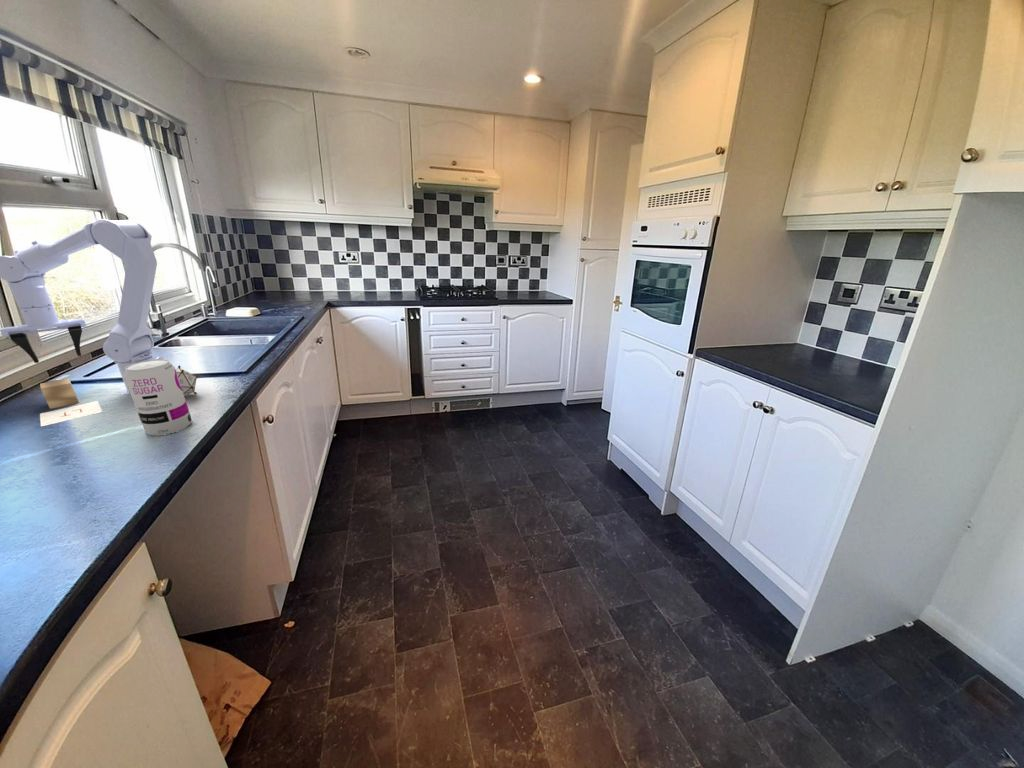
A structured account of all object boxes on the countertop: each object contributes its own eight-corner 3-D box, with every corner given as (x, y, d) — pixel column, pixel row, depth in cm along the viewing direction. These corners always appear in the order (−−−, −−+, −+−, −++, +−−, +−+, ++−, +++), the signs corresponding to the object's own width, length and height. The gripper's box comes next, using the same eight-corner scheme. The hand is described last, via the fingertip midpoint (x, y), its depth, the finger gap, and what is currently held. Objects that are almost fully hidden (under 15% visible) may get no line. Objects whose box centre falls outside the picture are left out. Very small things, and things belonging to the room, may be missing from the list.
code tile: (98, 403, 104) (97, 400, 104) (103, 414, 98) (102, 411, 97) (40, 415, 97) (39, 413, 97) (41, 428, 91) (40, 426, 91)
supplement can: (186, 416, 96) (166, 356, 91) (197, 427, 91) (177, 363, 86) (142, 429, 90) (117, 365, 85) (151, 441, 85) (126, 373, 80)
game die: (179, 413, 107) (138, 391, 100) (189, 391, 113) (151, 369, 106) (205, 396, 106) (166, 373, 99) (214, 375, 112) (177, 352, 105)
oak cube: (78, 399, 106) (69, 378, 104) (79, 405, 103) (70, 382, 101) (50, 405, 103) (40, 383, 100) (51, 411, 100) (40, 388, 97)
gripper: (75, 300, 109) (95, 349, 114) (-9, 308, 99) (16, 361, 104) (78, 303, 104) (98, 354, 109) (-10, 312, 94) (16, 367, 99)
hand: (58, 358), depth 106 cm, fingers open, 7 cm apart
